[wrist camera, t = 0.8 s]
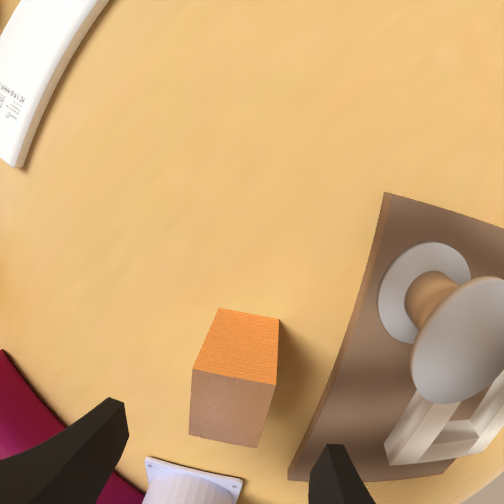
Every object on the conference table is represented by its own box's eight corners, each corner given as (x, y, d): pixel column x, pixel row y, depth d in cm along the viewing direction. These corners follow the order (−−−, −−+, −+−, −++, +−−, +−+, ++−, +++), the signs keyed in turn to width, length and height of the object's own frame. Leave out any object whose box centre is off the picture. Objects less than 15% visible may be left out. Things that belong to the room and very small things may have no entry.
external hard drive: (129, -15, 11) (28, 167, 15) (55, -27, 10) (-23, 122, 14) (117, -27, 9) (11, 169, 13) (43, -35, 9) (-38, 122, 12)
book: (7, 341, 19) (-48, 387, 12) (199, 521, 24) (186, 572, 17) (-35, 384, 23) (-65, 412, 16) (98, 515, 29) (83, 548, 22)
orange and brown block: (264, 379, 16) (256, 448, 11) (211, 369, 16) (188, 434, 11) (278, 318, 15) (275, 384, 10) (219, 307, 15) (192, 368, 10)
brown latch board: (439, 465, 18) (456, 515, 12) (287, 470, 18) (285, 535, 13) (555, 249, 12) (615, 281, 6) (384, 191, 13) (450, 214, 7)
